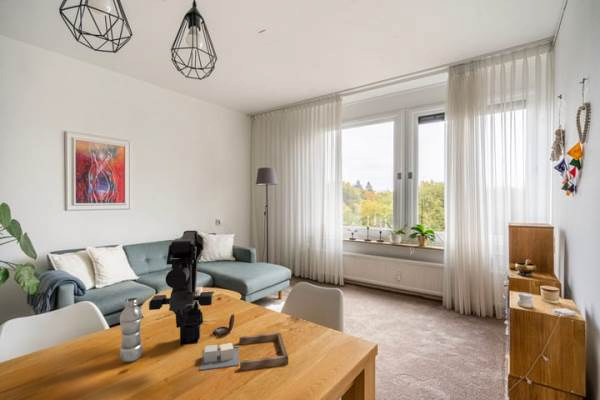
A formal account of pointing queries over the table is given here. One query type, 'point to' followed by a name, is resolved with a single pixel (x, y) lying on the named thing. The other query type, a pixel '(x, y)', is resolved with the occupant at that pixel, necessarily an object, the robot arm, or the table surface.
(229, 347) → the white square block
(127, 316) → the plastic bottle
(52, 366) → the table surface
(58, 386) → the table surface
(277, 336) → the walnut corral
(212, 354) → the cream matte cube
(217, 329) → the compass
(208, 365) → the rubber tray
